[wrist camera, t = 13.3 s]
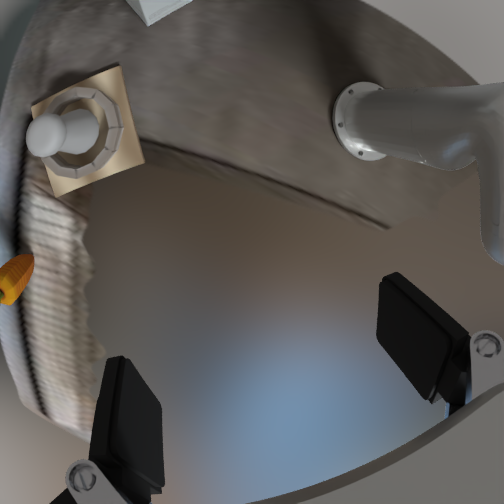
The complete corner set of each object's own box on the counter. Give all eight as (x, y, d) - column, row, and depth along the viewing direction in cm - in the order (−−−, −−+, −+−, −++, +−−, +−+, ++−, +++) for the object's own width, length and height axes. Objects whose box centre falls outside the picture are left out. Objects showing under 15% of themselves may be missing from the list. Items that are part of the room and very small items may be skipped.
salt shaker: (60, 122, 29) (10, 124, 18) (96, 102, 30) (55, 92, 18) (73, 160, 32) (28, 177, 20) (109, 141, 32) (74, 148, 21)
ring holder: (121, 66, 29) (114, 60, 26) (145, 162, 36) (140, 165, 32) (34, 107, 28) (20, 106, 24) (58, 196, 34) (46, 203, 31)
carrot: (28, 273, 37) (-14, 327, 24) (16, 246, 35) (-32, 294, 22) (49, 266, 38) (8, 322, 24) (38, 238, 36) (-11, 287, 22)
